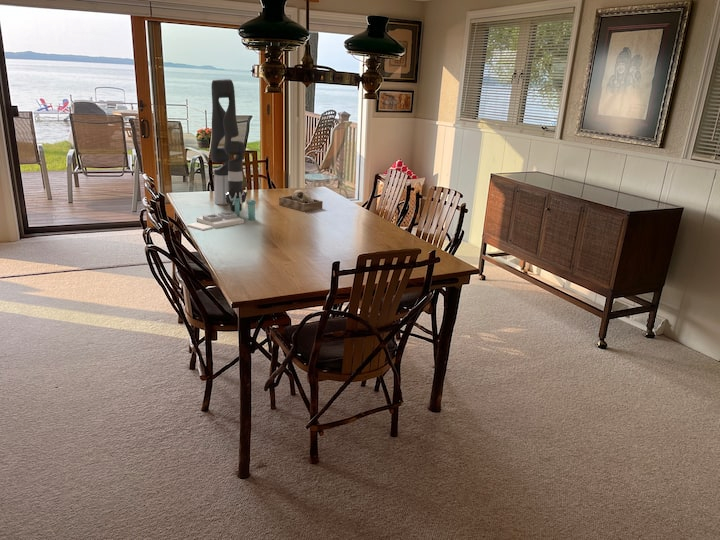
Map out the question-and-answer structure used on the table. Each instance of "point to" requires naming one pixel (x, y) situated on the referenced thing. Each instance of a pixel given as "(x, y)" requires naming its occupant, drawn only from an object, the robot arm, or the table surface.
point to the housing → (220, 219)
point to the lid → (199, 226)
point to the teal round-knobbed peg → (251, 209)
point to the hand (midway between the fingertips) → (236, 210)
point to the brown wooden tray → (300, 204)
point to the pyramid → (244, 181)
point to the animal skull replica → (302, 197)
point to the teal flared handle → (237, 206)
